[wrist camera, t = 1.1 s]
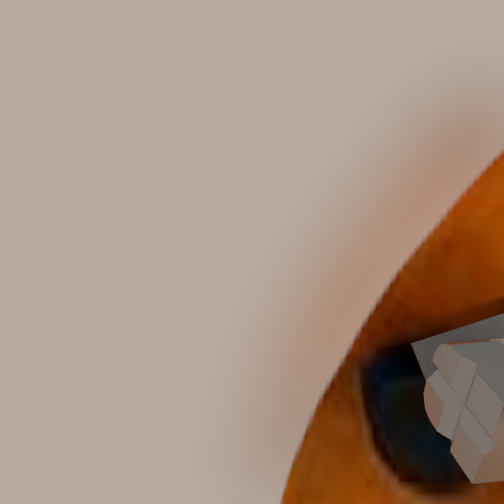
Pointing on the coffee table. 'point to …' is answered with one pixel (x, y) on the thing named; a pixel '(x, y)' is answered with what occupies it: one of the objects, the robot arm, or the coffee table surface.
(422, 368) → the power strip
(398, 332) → the coffee table surface
